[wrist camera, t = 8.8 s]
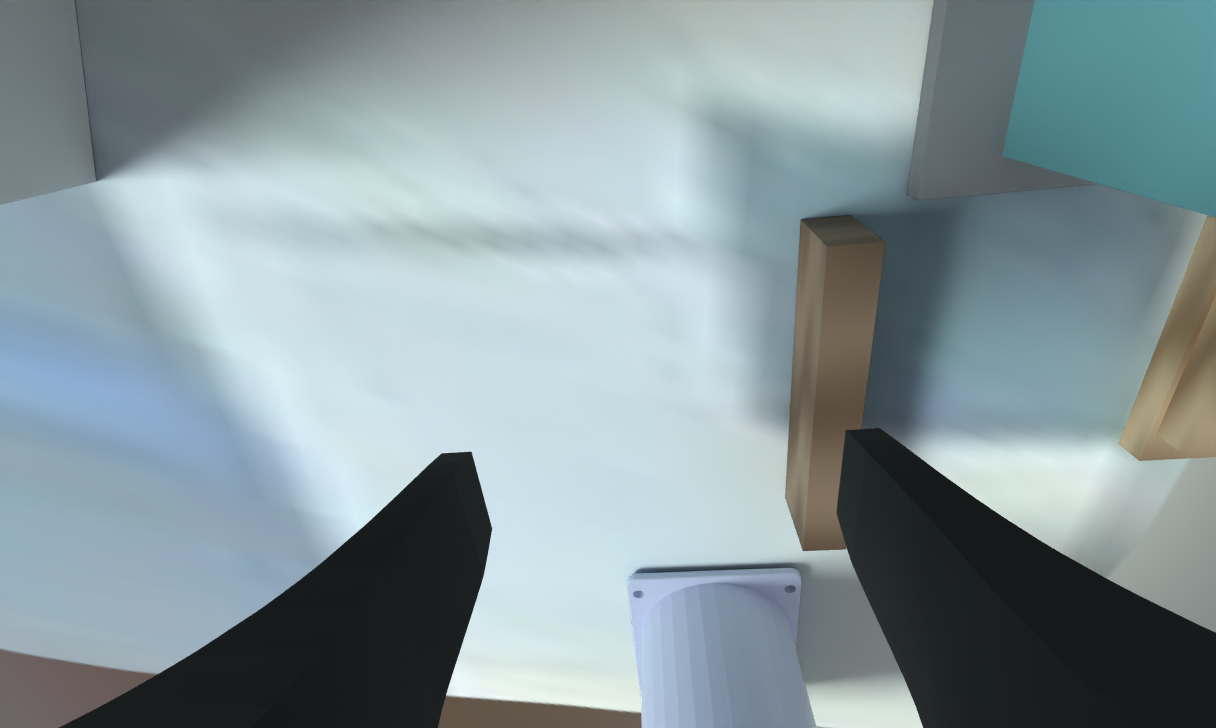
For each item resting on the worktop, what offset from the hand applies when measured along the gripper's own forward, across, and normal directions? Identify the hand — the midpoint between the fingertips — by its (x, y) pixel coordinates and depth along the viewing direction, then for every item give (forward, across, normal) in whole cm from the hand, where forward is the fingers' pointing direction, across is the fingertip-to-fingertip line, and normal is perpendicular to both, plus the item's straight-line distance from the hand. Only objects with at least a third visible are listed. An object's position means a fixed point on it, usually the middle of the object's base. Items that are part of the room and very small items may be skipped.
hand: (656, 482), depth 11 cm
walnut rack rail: (+10, -6, +4) cm, 13 cm away
